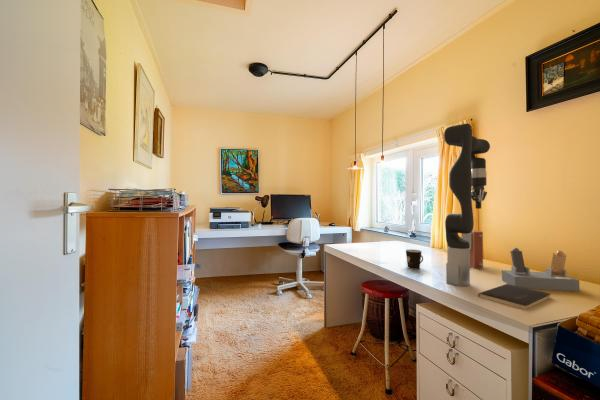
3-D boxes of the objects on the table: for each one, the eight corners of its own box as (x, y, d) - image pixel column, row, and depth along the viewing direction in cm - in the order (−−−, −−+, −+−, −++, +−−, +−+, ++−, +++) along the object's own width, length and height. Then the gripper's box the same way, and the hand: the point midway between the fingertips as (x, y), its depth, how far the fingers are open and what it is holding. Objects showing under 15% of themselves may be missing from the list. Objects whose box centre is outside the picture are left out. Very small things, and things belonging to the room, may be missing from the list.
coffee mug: (404, 265, 166) (404, 249, 166) (419, 266, 164) (419, 249, 164) (408, 270, 154) (408, 252, 154) (424, 271, 152) (424, 253, 152)
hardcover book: (550, 299, 110) (550, 293, 110) (525, 311, 98) (525, 305, 98) (505, 288, 124) (505, 283, 124) (478, 297, 112) (478, 292, 112)
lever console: (515, 287, 123) (514, 269, 123) (501, 280, 134) (501, 263, 134) (579, 291, 117) (579, 272, 117) (560, 283, 129) (559, 266, 129)
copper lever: (552, 275, 123) (556, 251, 121) (549, 272, 126) (553, 249, 123) (563, 276, 122) (567, 252, 120) (559, 273, 125) (563, 249, 122)
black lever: (516, 272, 127) (511, 247, 131) (513, 272, 129) (509, 248, 133) (526, 272, 126) (521, 247, 130) (523, 273, 128) (518, 248, 132)
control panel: (470, 263, 171) (485, 269, 156) (458, 263, 171) (473, 269, 156) (469, 229, 171) (485, 231, 156) (458, 229, 171) (473, 231, 156)
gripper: (477, 176, 144) (478, 208, 144) (492, 177, 150) (492, 208, 150) (464, 177, 151) (464, 208, 151) (478, 178, 157) (478, 208, 157)
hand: (478, 208), depth 151 cm, fingers closed
